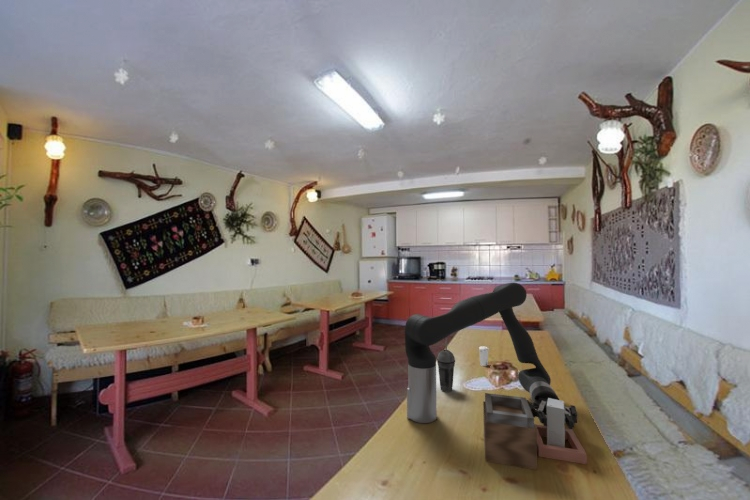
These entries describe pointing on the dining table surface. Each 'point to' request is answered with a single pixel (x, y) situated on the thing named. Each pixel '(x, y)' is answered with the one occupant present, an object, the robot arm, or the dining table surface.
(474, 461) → the dining table surface
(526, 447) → the walnut pedestal
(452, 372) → the beverage cup
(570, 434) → the lower collar
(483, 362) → the milkshake
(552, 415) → the skincare box
